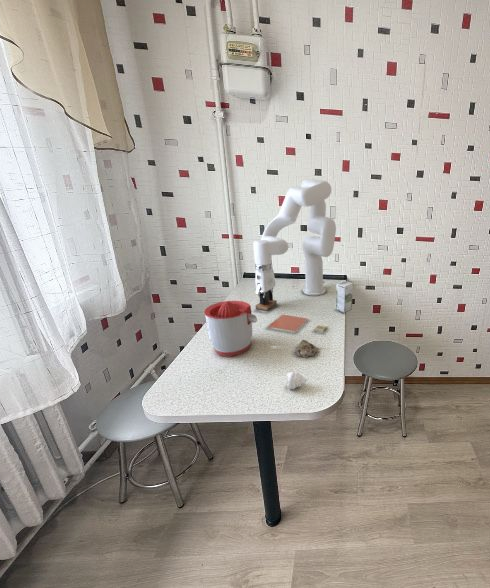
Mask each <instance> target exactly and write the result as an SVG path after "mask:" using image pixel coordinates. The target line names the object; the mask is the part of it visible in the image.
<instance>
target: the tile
mask: <svg viewBox="0 0 490 588" xmlns="http://www.w3.org/2000/svg"><path fill="white" fill-rule="evenodd" d="M308 320H309V318H307V317H301V316H294V315H289V314H281V315H280V316H278V318H276V319H275V320H274V321H273V322H272V323H270V324H269V325H268V326H267V328H273V329H279V330H284V331H291V332H296V331H298V329H299V328H301V327H302V325H304V324H305V323H306V322H307V321H308Z"/></svg>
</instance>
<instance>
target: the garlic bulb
mask: <svg viewBox="0 0 490 588" xmlns="http://www.w3.org/2000/svg"><path fill="white" fill-rule="evenodd" d="M307 381H308V378H305V377H304V376H303V375H302V374H299V372H297V371H290V372H288V373H287V375H286V388H287V389H288V390H295V389H297V388H299V387H300V386H302V385H305V384H307Z"/></svg>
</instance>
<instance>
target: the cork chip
mask: <svg viewBox="0 0 490 588" xmlns="http://www.w3.org/2000/svg"><path fill="white" fill-rule="evenodd" d="M327 328H328V326H327V325H321V324H318V325H317V326H316V327H315V328H314V331H318V332H324V331H325V330H326V329H327Z"/></svg>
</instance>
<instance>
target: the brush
mask: <svg viewBox="0 0 490 588" xmlns="http://www.w3.org/2000/svg"><path fill="white" fill-rule="evenodd" d="M261 293H262V294H263V292H261ZM265 297H266V302H267V304H266V305H262V304H260V302H259V303H257V304H255V310H257V311H264V312H269V310H271V309H272V308H274V307H275V306H277V305H278V303H277V301H278V300H276V299H273V300H272V301H270V300H269V291H267V292H265Z"/></svg>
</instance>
